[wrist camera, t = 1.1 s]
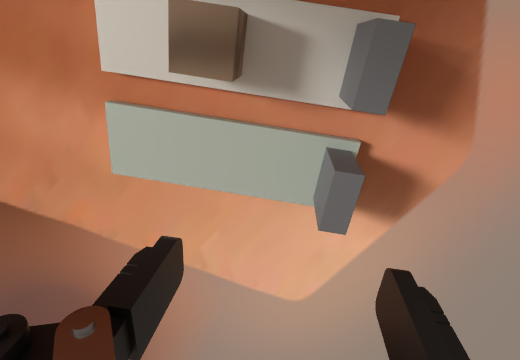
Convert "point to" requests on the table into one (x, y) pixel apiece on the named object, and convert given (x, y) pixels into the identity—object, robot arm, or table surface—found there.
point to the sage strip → (238, 158)
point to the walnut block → (206, 39)
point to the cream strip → (272, 50)
